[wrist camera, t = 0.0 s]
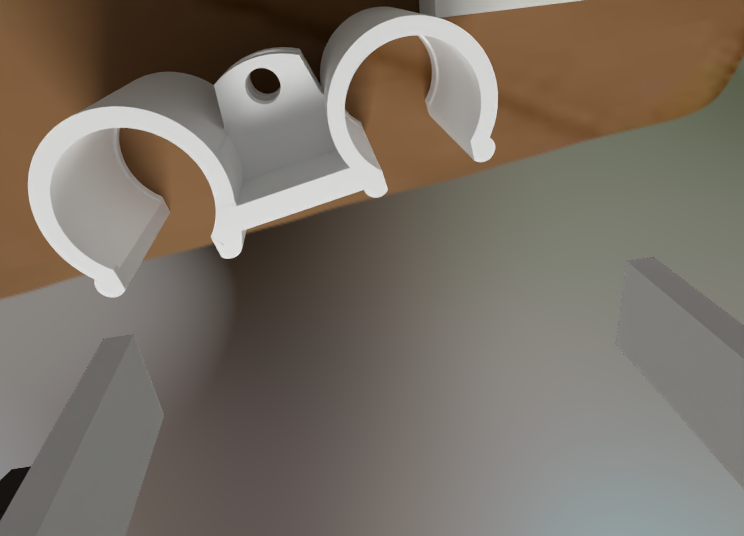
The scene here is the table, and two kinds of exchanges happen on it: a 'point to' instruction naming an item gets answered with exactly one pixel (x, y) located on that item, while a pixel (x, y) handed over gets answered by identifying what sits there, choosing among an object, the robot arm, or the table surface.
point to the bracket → (244, 142)
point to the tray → (476, 6)
